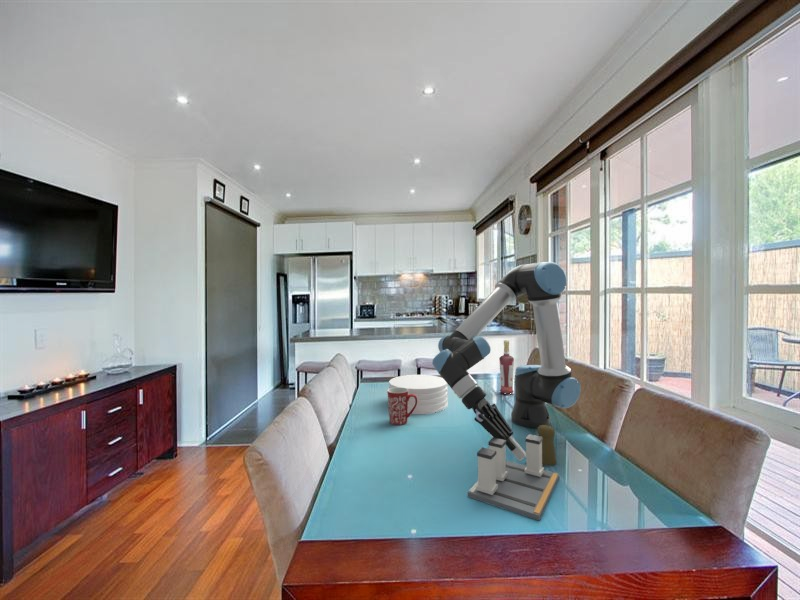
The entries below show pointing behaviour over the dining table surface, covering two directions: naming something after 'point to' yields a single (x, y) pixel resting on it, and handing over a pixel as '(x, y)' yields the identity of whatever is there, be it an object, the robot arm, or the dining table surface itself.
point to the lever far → (487, 471)
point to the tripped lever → (534, 455)
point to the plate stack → (423, 392)
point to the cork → (547, 444)
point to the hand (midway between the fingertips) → (523, 458)
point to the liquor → (506, 370)
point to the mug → (399, 405)
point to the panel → (520, 491)
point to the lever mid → (499, 457)
